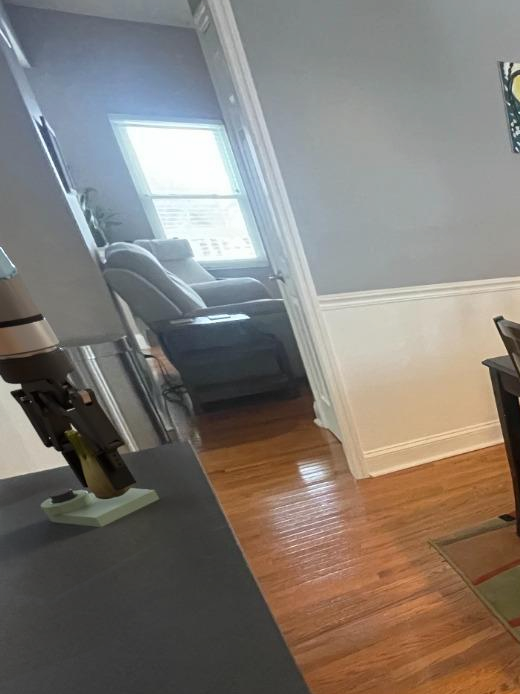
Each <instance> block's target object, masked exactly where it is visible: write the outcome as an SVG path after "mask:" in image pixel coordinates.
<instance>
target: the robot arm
mask: <svg viewBox="0 0 520 694" xmlns="http://www.w3.org/2000/svg"><path fill="white" fill-rule="evenodd" d="M59 344H60V341H59V339H58V337H57V335H56V334H55V332H54V330H53V329H52V327H51V326H50V324H49V322H48V321H47V319H46V317H44V315H43V314H42V311H41V310H40V308H39V306H38V305H37V302H36V301H35V299H34V298H33V296H32V294H31V293H30V291H29V289H28V287H27V285H26V283H25V281H24V280H23V278H22V277H21V275H20V273H19V270H18V268H17V267H16V266H15V265H14V264H13V263H12V261H11V260H10V259H9V257H8V255H7V254H6V252H5V251H4V250H3V248H2V247H1V246H0V377H1V379H2V380H3V382H4V383H6V384H8V385H9V384H10V385H20V387H21V388H18V389H13V390H10V391H9V393H10V396H11V397H12V398H13V399H14V400H15V401H16V402H17V404H18V405H19V406H20V408H21V410H22V411H23V412H24V414H25V416H26V418H27V419H28V422H29V423H30V424H31V426H32V428H33V429H34V431H35V432H36V434H37V435H38V437H39V439H40V440H41V442H42V444H43V445H44V447H46V448H48V449H49V448H53V449H54V450H55V451H56V452H57V453H60V454H61V455H62V457H63V458H64V460H65V461H66V463H67V464H68V466H69V468H70V469H71V471H72V472H73V473H74V475H75V477H76V478H77V480H78V481H79V483H80V484H81V486H82V487H83V488H84V489H86V488H89V487H88V485H87V482H86V479H85V476H84V473H83V469H82V464H81V461H80V459H79V457H78V455H77V453H76V451H75V450H74V448H73V446H72V445H71V443H70V442H69V440H68V439H67V437H66V436H65V434H64V432H65V431H68V430H74V429H75V431H78V432H79V434H80V435H81V436H82V437H83V438H84V439H85V440H86V441H87V443H88V444H89V445H90V446H91V447H92V448H93V449H94V450H95V453H93V454H91V455H92V456H93V457H95V459H96V460H97V462H98V463H99V465H100V467H101V468H102V470H103V471H104V473H105V475H106V476H107V478H108V479H109V481H110V482H111V484H112V486H113V487H114V489H115V490H121V489H123V488H125V487H128V486H130V485H135V484H136V483H137V481H136V479H135V477H134V475H133V474H132V472H131V470H130V469H129V467H128V466H127V464H126V463H125V461H124V459H123V458H122V456H121V454H120V453H119V451H118V449H119V448H121V447H123V446H125V445H126V442H125V441H124V440H123V438H122V436H121V435H120V433H119V432H118V430H117V429H116V427H115V425H114V424H113V422H112V421H111V420H110V418H109V417H108V415H107V414H106V412H105V411H104V409H103V408H102V406H101V405H100V403H99V401H98V398H97V396H96V394H95V391H94V390H93V389H92V388H90V387H88V388H84V389H80V388H77V386H76V385H75V384H74V383H73V382H72V381H71V379H70V378H69V377H68V375H69V374H70V373H73V371H74V370H75V366H74V365H73V363H72V361H71V359H70V357H69V356H68V354H67V353H66V350H64V348H61V347H58V345H59ZM73 428H74V429H73Z"/></svg>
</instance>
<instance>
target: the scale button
mask: <svg viewBox="0 0 520 694" xmlns="http://www.w3.org/2000/svg"><path fill="white" fill-rule="evenodd" d="M73 491H74V490H72V488H63V489H58V490H55V491H53V492H51V493H50V494H49V495H48V497H49V499H50V498H51V499H52V501H53V502H54V503H55V504H56V503H62V502H65V501H68V500H71V499H73V498H75V497H76V496H75V494H74V493H73Z"/></svg>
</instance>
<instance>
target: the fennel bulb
mask: <svg viewBox="0 0 520 694" xmlns="http://www.w3.org/2000/svg"><path fill="white" fill-rule="evenodd" d="M64 434H65V436H66V437H67V439H68V440H69V442H70V443H71V445H72V446H73V448H74V450H75V451H76V453H77V455H78V457H79V459H80V461H81V464H82V469H83V473H84V476H85V479H86V482H87V485H88V487H87V488H88V489H89V491H90V493H93V494H95V497H97V498H99V499H112V498H115V497H119V496H122V495H123V494H125V493H126V492H127V491H128V490H129V489H130V488H132V485H133V484H132V485H130V486H128V487H125V488H123V489H121V490H115V489H114V487H113V486H112V484H111V482H110V481H109V479H108V478H107V476H106V475H105V473H104V471H103V470H102V468H101V467H100V465H99V463H98V462H97V460H96V459H95V457H93V456H92V455H91V454H93V453H95V450H94V449H93V448H92V447H91V446H90V445H89V444H88V443H87V441H86V440H85V439H84V438H83V437H82V436H81V435H80V434H79V432H78V431H77V430H74V429H73V430H68V431H65V432H64Z"/></svg>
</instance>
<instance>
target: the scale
mask: <svg viewBox="0 0 520 694" xmlns="http://www.w3.org/2000/svg"><path fill="white" fill-rule="evenodd" d="M72 491H73V493H74V494H75V496H76V497H75V498H73V499H71V500H68V501H65V502H62V503H56V504H55V503H54V502H53V501H52V499H51V498H50V497H49V498H48V499H46V500H44V501H43V502H41V503H40V508H41V509H42V510H43V512H44V513H45V515H46V516H47V518H48V519H49V520H50V521H51V523H58V524H59V523H61V524H68V525H77V526H89V527H97V528H102V527H104V526H107V525H108V524H111V523H113V522H115V521H117V520H119V519H121V518H123V517H125V516H127V515H129V514H132V513H134V512H136V511H138V510H140V509H143V508H144V507H146V506H149V505H150V504H152V503H154V502H157V501H159V500H160V497H159V496H158V494H157V492H156V490H155V489H146V488H134V487H131V488H130V489H129V490H128V491H127V492H126V493H125V494H123V495H122V496H119V497H115V498H112V499H99V498H97V497H95V494H93V493H92V492H90V493H89V492H88V490H83V489H79V490H78V489H77V490H72Z"/></svg>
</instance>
